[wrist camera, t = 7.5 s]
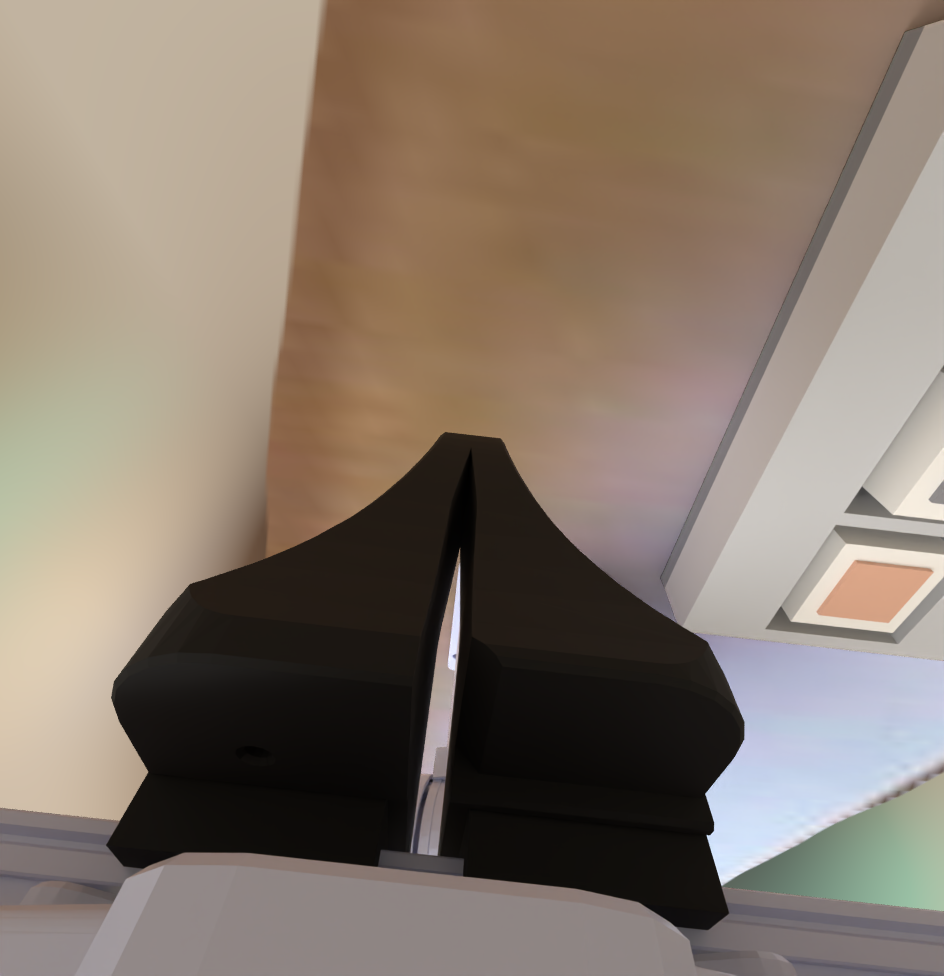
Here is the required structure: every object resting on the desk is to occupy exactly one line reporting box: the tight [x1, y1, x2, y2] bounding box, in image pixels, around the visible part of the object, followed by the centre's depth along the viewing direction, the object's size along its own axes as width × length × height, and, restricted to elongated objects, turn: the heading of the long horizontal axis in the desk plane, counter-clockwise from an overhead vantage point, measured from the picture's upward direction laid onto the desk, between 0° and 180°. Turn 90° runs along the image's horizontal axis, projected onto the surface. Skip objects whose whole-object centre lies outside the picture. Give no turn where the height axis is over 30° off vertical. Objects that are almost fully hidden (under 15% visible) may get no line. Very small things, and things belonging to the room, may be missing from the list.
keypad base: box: [661, 20, 944, 661], centre depth 19 cm, size 22×14×4 cm, turn 174°
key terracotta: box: [781, 525, 944, 633], centre depth 22 cm, size 5×5×3 cm
